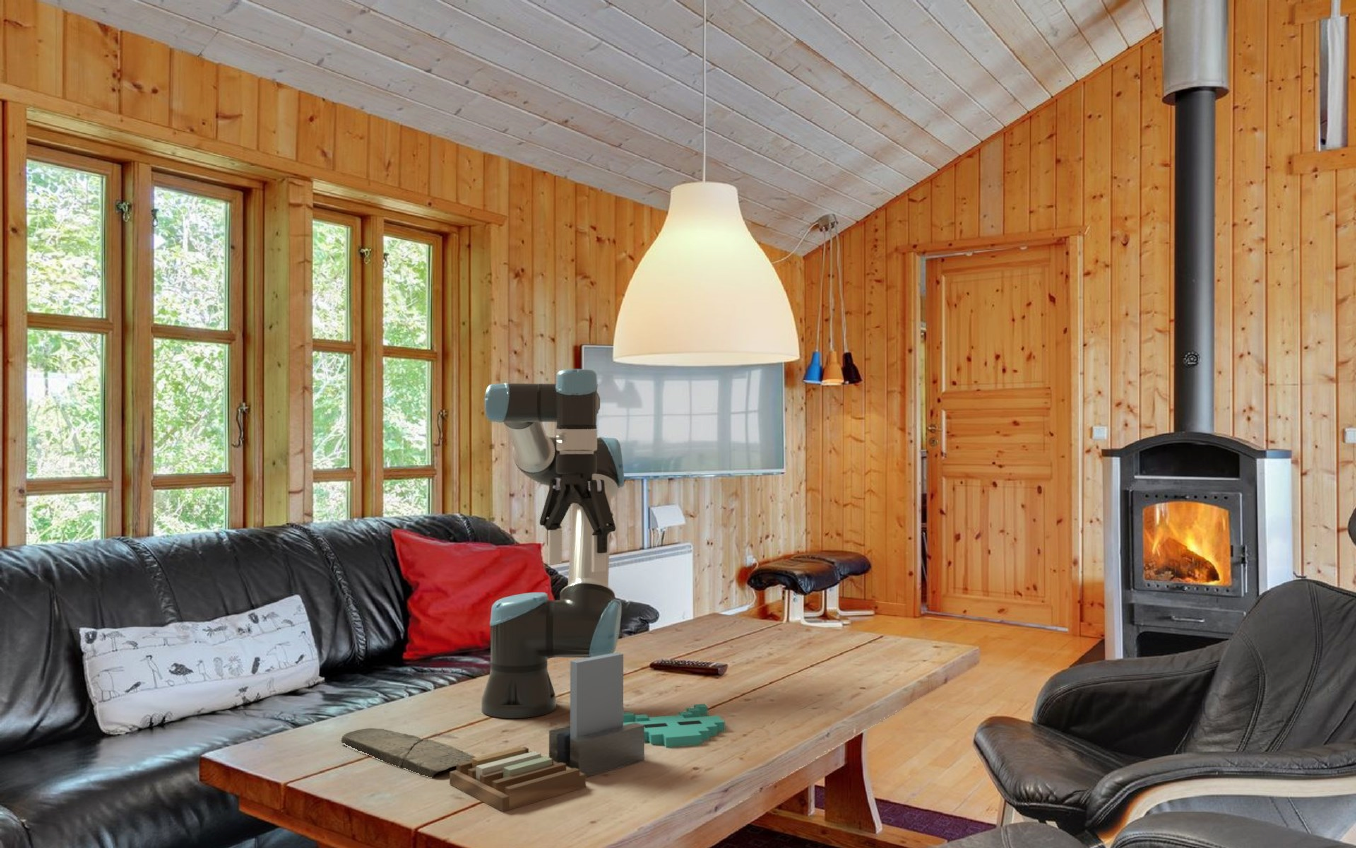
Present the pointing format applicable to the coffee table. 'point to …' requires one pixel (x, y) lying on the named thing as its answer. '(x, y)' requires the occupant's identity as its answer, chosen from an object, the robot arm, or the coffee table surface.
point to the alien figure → (678, 727)
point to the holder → (598, 748)
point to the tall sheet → (596, 694)
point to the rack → (517, 784)
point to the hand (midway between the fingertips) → (576, 567)
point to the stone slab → (406, 750)
